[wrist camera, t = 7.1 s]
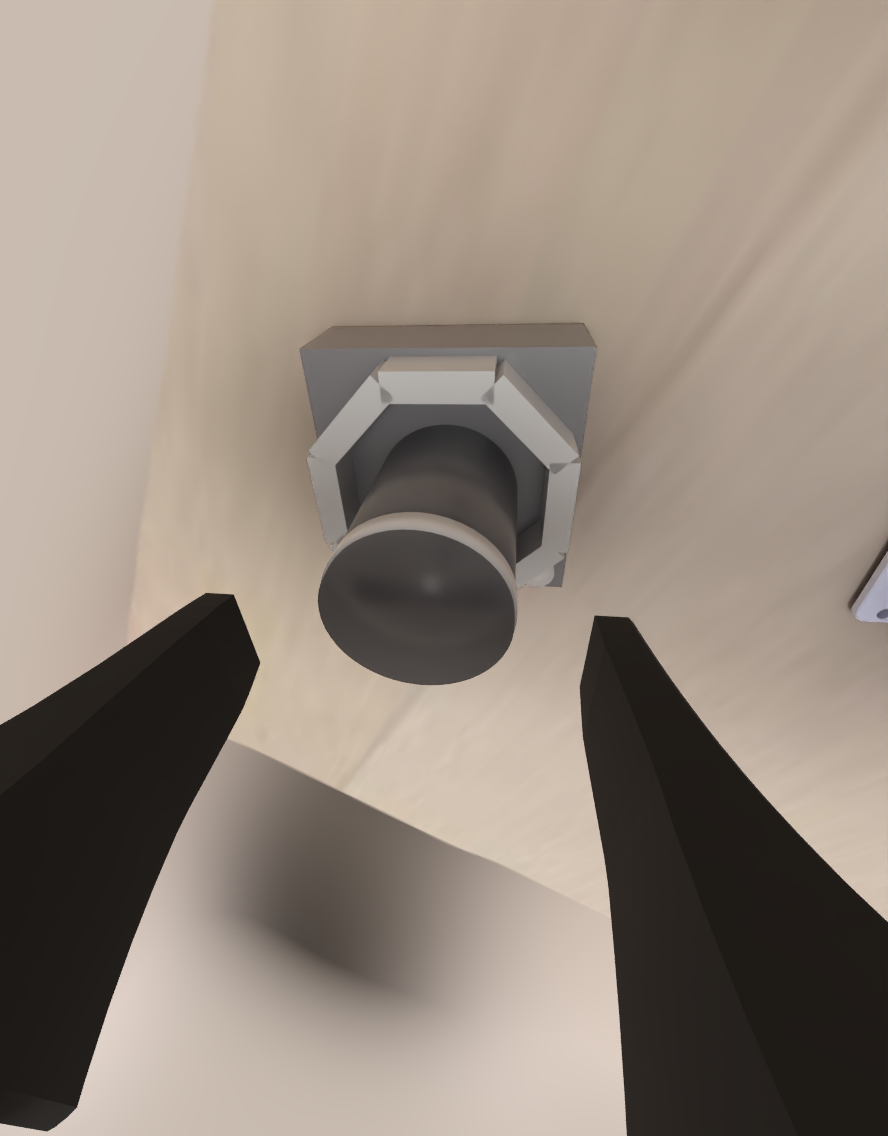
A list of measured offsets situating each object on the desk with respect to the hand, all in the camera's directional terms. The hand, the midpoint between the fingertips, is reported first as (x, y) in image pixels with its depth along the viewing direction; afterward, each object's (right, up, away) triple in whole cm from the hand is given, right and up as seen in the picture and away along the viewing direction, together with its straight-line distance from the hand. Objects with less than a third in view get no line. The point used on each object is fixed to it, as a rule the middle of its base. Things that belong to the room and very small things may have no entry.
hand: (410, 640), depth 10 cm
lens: (+1, +4, +6) cm, 7 cm away
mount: (+1, +6, +8) cm, 10 cm away
